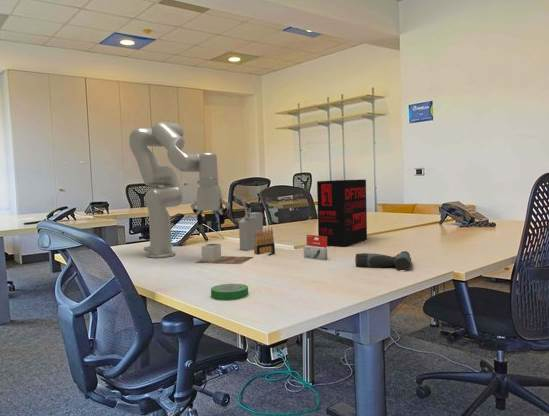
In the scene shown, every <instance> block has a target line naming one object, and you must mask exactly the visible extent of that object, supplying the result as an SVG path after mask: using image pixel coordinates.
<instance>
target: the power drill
mask: <svg viewBox="0 0 549 416" xmlns="http://www.w3.org/2000/svg"><path fill="white" fill-rule="evenodd" d="M354 261H355V262H354V263H355V266H356V267H358V266H363V267H362V268H385V267H391V266H392V267H395V268H396V269H397V270H398V271H400V270H406V271H408V270H409V268H410V267H411V264H412V257H411V255H410V253H409V252H408V251H401V252H400V253H397V254H396V255H394V256H391V255H386V254H381V253H371V252H369V253H368V252H365V253H363V252H362V253H356V254H355V259H354Z"/></svg>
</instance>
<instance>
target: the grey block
mask: <svg viewBox="0 0 549 416" xmlns="http://www.w3.org/2000/svg"><path fill="white" fill-rule="evenodd" d="M221 256H222V244H221V243H208V244H204V245H202V246H201V260H202V261H215V260H218V259H220V258H221Z"/></svg>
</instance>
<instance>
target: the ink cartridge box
mask: <svg viewBox="0 0 549 416" xmlns="http://www.w3.org/2000/svg"><path fill="white" fill-rule="evenodd" d="M315 238H317V239H315ZM318 238H319V239H320V240H319V239H318ZM303 258H304V259H309V260H319V261H328V260H329V259H328V246H327V236H318V235H315V234H314V235H313V234H306V245H304V246H303Z"/></svg>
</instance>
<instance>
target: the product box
mask: <svg viewBox="0 0 549 416" xmlns="http://www.w3.org/2000/svg"><path fill="white" fill-rule="evenodd" d="M316 191H317V194H316V195H317V198H316V199H317V227H318V229H317V230H318V233H317V236H327V247H332V246H333V248H334V247H335V248H336V247H337V248H347V247H351V246H354V245H356V243H357V244H359V242H360V243H363V242H365V240H366V241H367V240H368V230H367V229H368V226H367V225H368V223H367V220H368V219H367V218H368V217H367V179H338V180H337V179H336V180H318V181H316ZM317 240H320V239H319V238H317ZM362 241H363V242H362Z"/></svg>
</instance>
